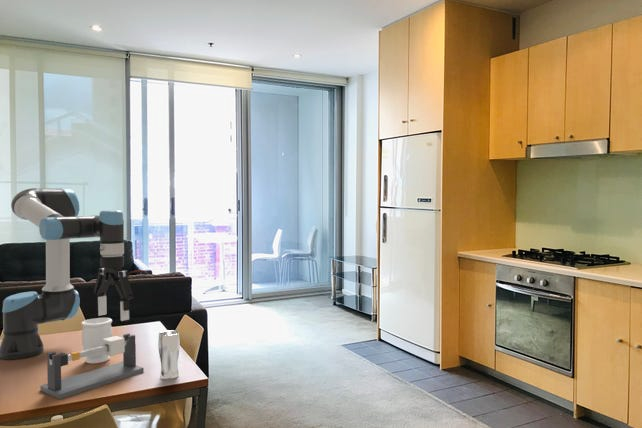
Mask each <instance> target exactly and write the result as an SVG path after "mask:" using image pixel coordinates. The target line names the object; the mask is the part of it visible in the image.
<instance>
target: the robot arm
mask: <svg viewBox="0 0 642 428" xmlns="http://www.w3.org/2000/svg"><path fill="white" fill-rule="evenodd" d="M10 206H11V210H12V212H13V213H14V215H15V216H16V217H18V218H20V219H21V220H25V221H29V222H30V223H32V224H33V225H35V226H36V227H38V229H39V234H40V235H39V236H40V237H41V238H42V239H43V240H45V285H44V286H43V287H42V288H41V293H40V294H38V292H37V291H34V290H33V291H24V292H19V293H16V294H12V295H9V296H7V297H5V298H4V299H3V301H2V310H1V312H2V328H3V330H2V331H3V335H2V336H3V337H2V340H1V342H0V359H1V360H19V359H25V358H31V357H35V356H38V355H40V354H42V353H43V352H44V346H45V345H44V343H43V340H42V338H41V336H40V334H39V325H41V324H48V323H53V322H57V321H59V322H60V321H65V320H68V319H72V318H74V317H75V316H76V315H77V313H78V312H79V309H80V303H81V302H80V301H81V299H80V298H81V297H80V293H79V292H78V291H77V290H76V289H75V286H74V285H72V284H71V280H70V279H71V275H70V274H71V272H70V271H71V270H70V267H71V266H70V262H71V261H70V258H71V257H70V256H71V254H70V253H71V251H70V250H71V246H70V245H71V244H70V243H71V242H70V241H71V240H70V239H87V238H89V239H90V238H91V239H92V238H99V245H100V246H99V253H100V255H101V257H100V260H99V263H100V265H99V266H100V268H98V271H97V278H96V282H95V285H94V290H93V294H94V295H96V297H97V311H98V313H97V315H98V316H99V317H100V316H105V315H107V312H108V311H107V307H108V306H107V291H108V289H109V287H110V285H111V284H112V285H113V286H115V288H116V291H117V292H118V295H119V297H120V300H119V305H120V306H119V307H120V310H119V311H120V321H121V322H123V321H129V320H130V301H131V300H132V299H134V294H133V290H132V287H131V283H130V280H129V277H128V275H129V273H128V270H122V268H123V267H124V266H125V256H124V254H125V241H124V238H125V236H124V235H125V234H124V233H125V232H124V231H125V229H124V226H125V225H124V224H125V220H124V213H123V211H122V210H100V212H99V215H88V216H87V215H86V216H85V215H84V216H79V214H80V202H79V198H78V196H77V194H76V192H74V190H72V189H69V188H37V187H36V188H35V187H33V188H27V189H24V190H22V191H20V192H18V193H17V194H16V195H15V196H14V197H13V199H12V200H11V204H10Z"/></svg>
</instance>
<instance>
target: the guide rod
mask: <svg viewBox="0 0 642 428" xmlns="http://www.w3.org/2000/svg"><path fill="white" fill-rule="evenodd" d="M126 345H128V339H127V340H124V346H126ZM108 350H109V345H108V344H107V345H103V346H99V347H95V348H92V349H88V350H84V349H83V350H81V351H76V350H75V351H72V352H69V354H68V353H65V352H60V353H58V354H61V367H64V366H67V365H69V362H71V361H72V362H74V361H79V360H80V359H81V358H86V356H89V355H93V354H97V353H100V352H104V351H108ZM49 363H50V365H52V359H49Z"/></svg>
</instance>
